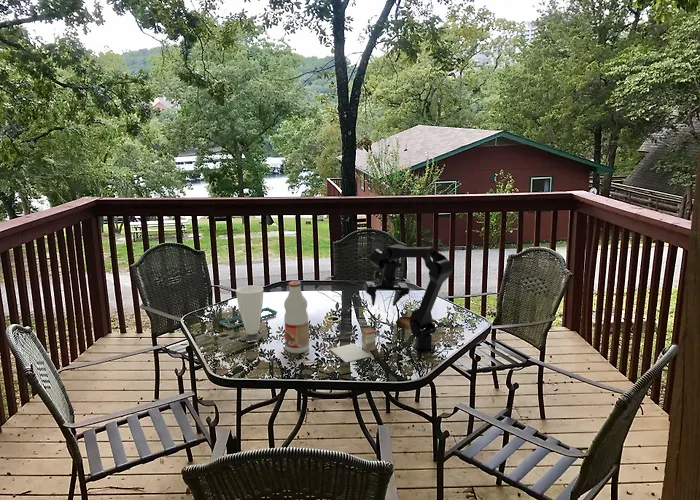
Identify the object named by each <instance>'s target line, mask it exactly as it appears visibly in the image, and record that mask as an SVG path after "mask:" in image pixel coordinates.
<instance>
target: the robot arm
mask: <svg viewBox="0 0 700 500" xmlns="http://www.w3.org/2000/svg"><path fill="white" fill-rule="evenodd" d="M373 251H374V252H372V253H371V255H370V256H369V260H368V261H369V262H370V263H371V264H372V265H374V266H375V267H377V268H379V269H382V272H380V271H378V270H374V271H373V276H372V277H373V279H374V280H376V281H378V284H379V285H377V284H376V283H375V282H374V281H365V282H364V283H363V289H364V291H365V293H366V294H368V295H369V296H370V300H371V305H372V307H373V306H375V303H376V298H377V291H395V293H394V296H393V300H392V306H393V307H395V306H396V304H398V302H399V301H400V300H401V299H402V298H403V297H405V296H406V295H409V294H410V288H409V286H408V284H407V283H406V282H397V283H396V285H395V282H396V281H397V273H398V269H400V268H402V267H403V265H402V262H401V261H400V260H399V259H401V258H417V259H418V258H422V259H423V261H424V265H425V267H426V268H427V270H428V277H429V281H428V284H427V286H426V289H425V291H424V294H423V297H422V299H421V302H420V305H419V306H418V308H416V309H413V310H411V313H410V315H411V316H410V318H409V319H410V321H409V324H410V327H411V330H410V331H411V334H412V336H413V337H415V344H414V345H412V348H413V349H415V350H417V351H418V352H419V353H426V352H430V351H433V350H435V349H436V348H435V347H434V346H432V343H433V342H432V341H433V339H432V334H435V333H436V331H437V327H436V326H435V324H434V322H432V321H431V320H432V318H433V315H432V311H433V307H434V305H435V303H436V300H437V298H438V295H439V293H440V291H441V287H442V285H443V284H444V282H446V280H448V279H449V277H450V276H451V274H452V273H453V270H454V266H453V264H452V262H451V261H450V260H449V259H448V258H447V257H446V256H445V255H443V254H442V253H440V252H439V251H437V250H436V248H434V247H433V246H419V247H418V246H416V247H415V246H412V247H411V246H405V245H403V244H398V243H397V244H393V245H388V246H386V247H385V248H384V251H382V250H381V249H379V248H376V249H374V250H373ZM397 259H398V261H397ZM432 259H433V260H434V261H433V260H432Z"/></svg>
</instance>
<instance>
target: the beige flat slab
mask: <svg viewBox="0 0 700 500" xmlns="http://www.w3.org/2000/svg"><path fill="white" fill-rule="evenodd" d="M329 350H330V352H332V353H333V354H334V355H336V356H337V357H338V358H340V359H341V360H342V361H343V362H344V363H346V364H347V363H350V362H355V361H359V360H361V359H362V360H363V359H367V358H370V357H372V355H371V354H369V353H368V352H367V351H366V350H364V349H363V348H362V347H360V346H358V345H357V344H355V343H350V344H346V345H341V346H337V347H333V348H332V347H331V348H329Z"/></svg>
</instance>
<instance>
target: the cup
mask: <svg viewBox="0 0 700 500" xmlns="http://www.w3.org/2000/svg"><path fill="white" fill-rule="evenodd" d="M235 293H236V294H235V295H236V299H237V304H238V308H239V314H240V315H241V317H242V321H243V324H244V325H243V326H244V328H245V329H244V330H245V333H247V334H245V333H244V334H245V335H244V336H242V337H241V339H240V338H238V339H239V341H240V340H241V341H240V342H242V340H243V341H244V340H246V341H252V340H257V339H260V338H261V337H262V335H261V334H259V333H258V332H259V328H260V325H261V321H262V320H261V313H262V309H263V303H264V287H262V286H260V285H252V284H251V285H243V286H240V287H237V288H236V290H235Z"/></svg>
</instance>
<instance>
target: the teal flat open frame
mask: <svg viewBox="0 0 700 500" xmlns="http://www.w3.org/2000/svg"><path fill="white" fill-rule="evenodd" d="M263 311H269V312H271V313H272V314H268V315H265V316H262V317H261V319H262V318H266V317H270V316H273V315H275V316H276V315H277V314H278V311H276V310H274V309H272V308H270V307H265V308H262V312H263ZM238 318H242V317H241V314H240V315H237V316H236V315H235V316H233V317H229V318H226V319H222V320H220V321H219V324H220V325H221V324H222V325H223V326H222V325H221V326H222V327H224V326H225V327H224V328H226V327H227V328H226V329H228V330H231V329H230V328H233V329H235V328H234V327H236V328H238V327H237V326H239V327H241V326H240V325H243V322H242V323H239V324H235V325H232V326H227V325H225V324H223V323H224V322H228V321H232V320H235V319H238ZM270 318H271V317H270ZM243 326H244V325H243Z"/></svg>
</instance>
